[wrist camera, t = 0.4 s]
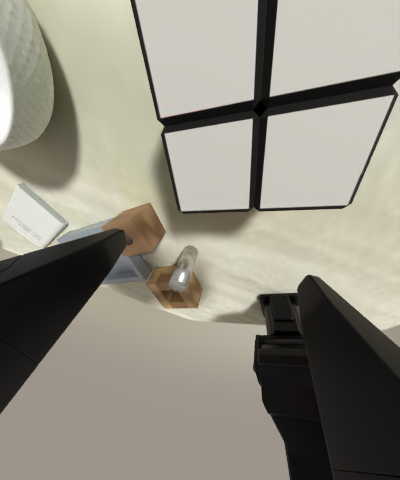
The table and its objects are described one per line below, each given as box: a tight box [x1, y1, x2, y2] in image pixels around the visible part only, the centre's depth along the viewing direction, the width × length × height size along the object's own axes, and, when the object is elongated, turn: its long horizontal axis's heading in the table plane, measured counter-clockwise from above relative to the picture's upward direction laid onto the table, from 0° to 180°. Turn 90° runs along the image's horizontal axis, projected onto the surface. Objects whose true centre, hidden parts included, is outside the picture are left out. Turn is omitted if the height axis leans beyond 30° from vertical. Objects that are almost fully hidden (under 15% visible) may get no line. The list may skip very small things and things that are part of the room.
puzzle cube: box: [130, 0, 400, 214], centre depth 11 cm, size 10×10×10 cm
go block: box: [147, 265, 202, 308], centre depth 29 cm, size 7×7×4 cm
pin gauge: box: [169, 246, 198, 292], centre depth 23 cm, size 2×2×7 cm
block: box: [101, 203, 166, 257], centre depth 22 cm, size 5×5×5 cm
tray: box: [56, 218, 151, 285], centre depth 29 cm, size 12×12×2 cm
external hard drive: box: [2, 183, 69, 248], centre depth 29 cm, size 2×8×12 cm
